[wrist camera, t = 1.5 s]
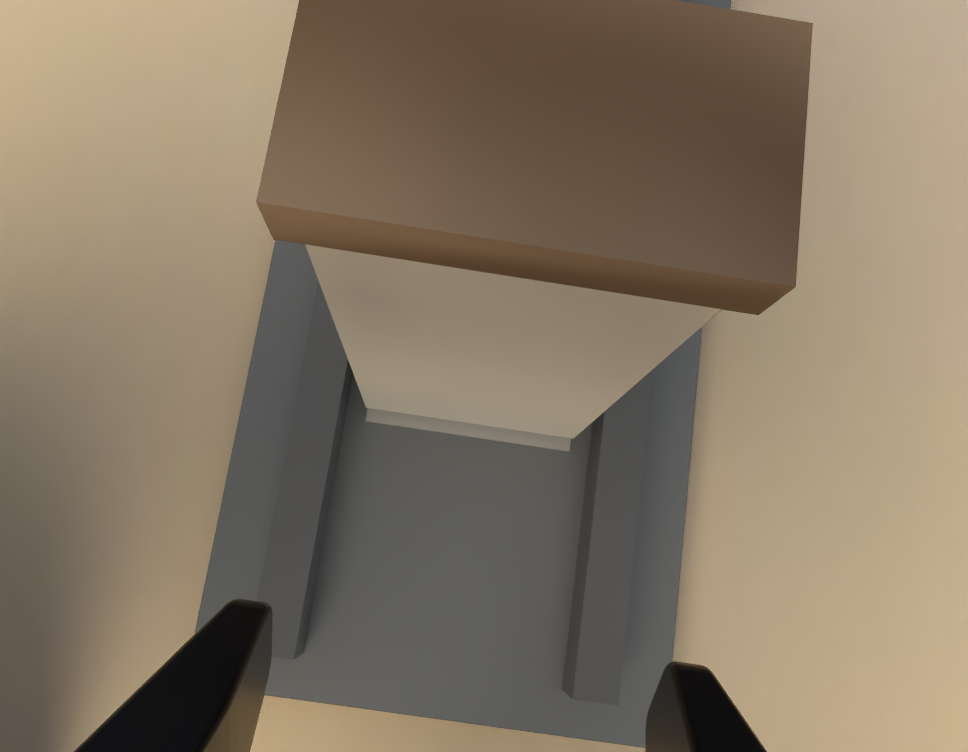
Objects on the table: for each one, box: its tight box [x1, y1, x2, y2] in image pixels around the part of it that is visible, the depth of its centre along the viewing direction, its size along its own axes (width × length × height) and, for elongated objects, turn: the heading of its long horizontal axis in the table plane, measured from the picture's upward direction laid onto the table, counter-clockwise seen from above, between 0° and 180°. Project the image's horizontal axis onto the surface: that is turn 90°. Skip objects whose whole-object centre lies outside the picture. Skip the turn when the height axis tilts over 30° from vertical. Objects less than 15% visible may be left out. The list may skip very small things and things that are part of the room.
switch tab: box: [257, 0, 813, 439], centre depth 15 cm, size 3×5×12 cm, turn 82°
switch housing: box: [195, 0, 731, 748], centre depth 22 cm, size 22×11×2 cm, turn 172°
